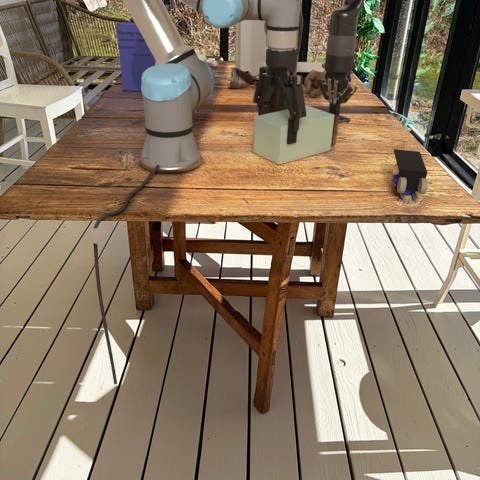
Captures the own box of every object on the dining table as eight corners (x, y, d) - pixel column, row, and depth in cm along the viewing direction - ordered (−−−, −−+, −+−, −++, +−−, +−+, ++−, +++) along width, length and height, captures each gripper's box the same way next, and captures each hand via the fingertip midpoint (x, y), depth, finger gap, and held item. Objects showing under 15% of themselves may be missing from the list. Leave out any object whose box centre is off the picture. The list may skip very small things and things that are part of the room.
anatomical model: (314, 99, 193) (314, 101, 179) (299, 84, 192) (297, 84, 178) (337, 75, 188) (338, 74, 174) (321, 59, 188) (321, 57, 173)
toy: (173, 75, 210) (172, 58, 207) (149, 64, 228) (148, 49, 224) (220, 69, 222) (220, 53, 218) (194, 59, 239) (193, 45, 236)
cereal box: (169, 88, 189) (165, 22, 177) (167, 91, 185) (163, 24, 172) (126, 87, 190) (119, 21, 177) (123, 90, 186) (115, 23, 173)
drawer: (325, 131, 144) (328, 104, 140) (349, 140, 137) (353, 112, 133) (265, 146, 132) (266, 117, 127) (288, 157, 125) (290, 127, 121)
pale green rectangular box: (303, 139, 140) (306, 105, 135) (330, 150, 133) (334, 114, 128) (253, 152, 131) (254, 116, 125) (278, 164, 123) (281, 126, 118)
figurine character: (424, 210, 105) (414, 176, 117) (433, 180, 100) (421, 147, 112) (393, 207, 106) (386, 174, 118) (400, 178, 101) (392, 146, 113)
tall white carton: (273, 76, 210) (276, 6, 196) (239, 77, 209) (240, 6, 194) (266, 67, 226) (268, 2, 212) (235, 67, 225) (235, 1, 210)
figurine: (210, 87, 179) (288, 95, 182) (212, 65, 176) (291, 73, 180) (208, 84, 201) (278, 91, 205) (210, 64, 198) (280, 71, 202)
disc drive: (294, 84, 198) (295, 72, 195) (288, 72, 217) (289, 61, 215) (336, 84, 198) (337, 72, 196) (326, 73, 218) (327, 61, 215)
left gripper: (327, 54, 109) (318, 146, 120) (263, 40, 125) (260, 123, 136) (303, 57, 105) (296, 152, 116) (240, 43, 121) (239, 127, 132)
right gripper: (369, 54, 124) (360, 120, 133) (332, 47, 133) (326, 109, 142) (349, 57, 120) (341, 124, 129) (312, 50, 129) (307, 113, 138)
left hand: (276, 136), depth 126 cm, fingers closed on pale green rectangular box, 11 cm apart
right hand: (333, 116), depth 136 cm, fingers closed
